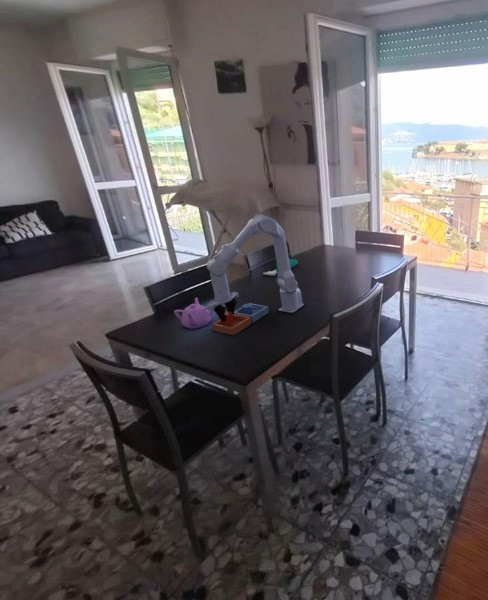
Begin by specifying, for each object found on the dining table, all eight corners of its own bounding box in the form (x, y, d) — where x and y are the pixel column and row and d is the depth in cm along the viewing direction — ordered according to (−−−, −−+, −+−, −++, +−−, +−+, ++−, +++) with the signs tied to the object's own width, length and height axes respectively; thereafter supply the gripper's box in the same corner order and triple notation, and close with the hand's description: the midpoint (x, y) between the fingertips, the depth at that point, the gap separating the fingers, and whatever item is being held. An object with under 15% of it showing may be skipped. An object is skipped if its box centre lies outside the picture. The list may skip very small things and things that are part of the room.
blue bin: (250, 308, 164) (249, 303, 163) (269, 312, 160) (268, 306, 159) (233, 318, 155) (232, 312, 154) (253, 322, 151) (252, 316, 150)
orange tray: (232, 319, 154) (231, 313, 153) (251, 323, 151) (250, 317, 149) (213, 330, 145) (211, 324, 144) (233, 335, 142) (232, 328, 140)
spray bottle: (300, 264, 223) (277, 277, 202) (285, 262, 226) (261, 276, 205) (299, 259, 221) (276, 273, 200) (284, 258, 225) (260, 271, 204)
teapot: (193, 333, 143) (187, 313, 140) (174, 324, 150) (169, 305, 147) (219, 321, 152) (215, 303, 149) (200, 314, 159) (196, 296, 156)
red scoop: (220, 323, 147) (219, 314, 145) (228, 319, 150) (226, 310, 148) (236, 326, 144) (234, 317, 142) (243, 322, 147) (241, 313, 146)
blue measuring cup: (241, 315, 157) (239, 306, 155) (247, 311, 160) (245, 303, 159) (256, 317, 154) (254, 309, 153) (262, 314, 158) (260, 305, 156)
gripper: (226, 281, 149) (232, 310, 155) (198, 293, 137) (206, 324, 142) (240, 283, 147) (245, 312, 152) (212, 296, 134) (220, 327, 140)
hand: (227, 318), depth 147 cm, fingers closed on red scoop, 4 cm apart
